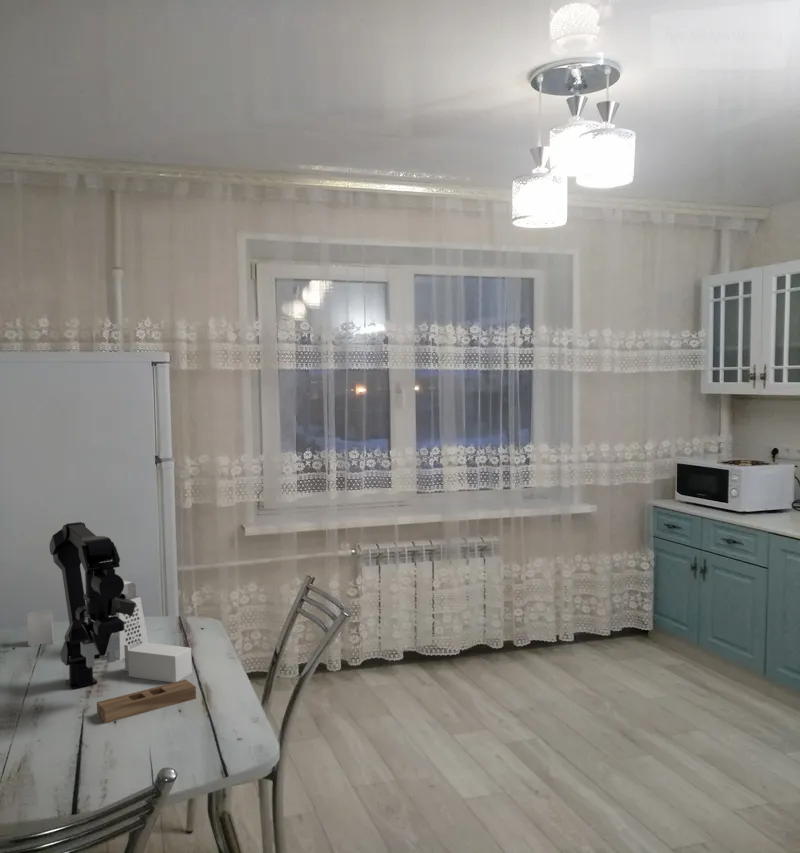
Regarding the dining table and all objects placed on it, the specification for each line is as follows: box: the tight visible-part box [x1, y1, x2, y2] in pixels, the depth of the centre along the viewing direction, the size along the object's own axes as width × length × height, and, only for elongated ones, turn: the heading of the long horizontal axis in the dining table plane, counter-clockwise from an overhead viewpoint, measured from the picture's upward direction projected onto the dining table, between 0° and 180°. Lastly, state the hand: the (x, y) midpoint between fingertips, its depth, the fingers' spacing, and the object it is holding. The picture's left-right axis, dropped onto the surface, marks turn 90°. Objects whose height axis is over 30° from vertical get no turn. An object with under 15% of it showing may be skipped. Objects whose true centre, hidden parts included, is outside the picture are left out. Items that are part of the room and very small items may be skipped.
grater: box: [104, 580, 150, 660], centre depth 228 cm, size 10×10×20 cm
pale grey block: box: [26, 609, 55, 646], centre depth 236 cm, size 4×7×10 cm, turn 109°
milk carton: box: [124, 642, 193, 683], centre depth 209 cm, size 7×7×19 cm
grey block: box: [80, 634, 120, 668], centre depth 190 cm, size 3×8×6 cm, turn 128°
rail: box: [96, 679, 197, 724], centre depth 188 cm, size 6×22×3 cm, turn 128°
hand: (100, 653), depth 190 cm, fingers closed on grey block, 3 cm apart
